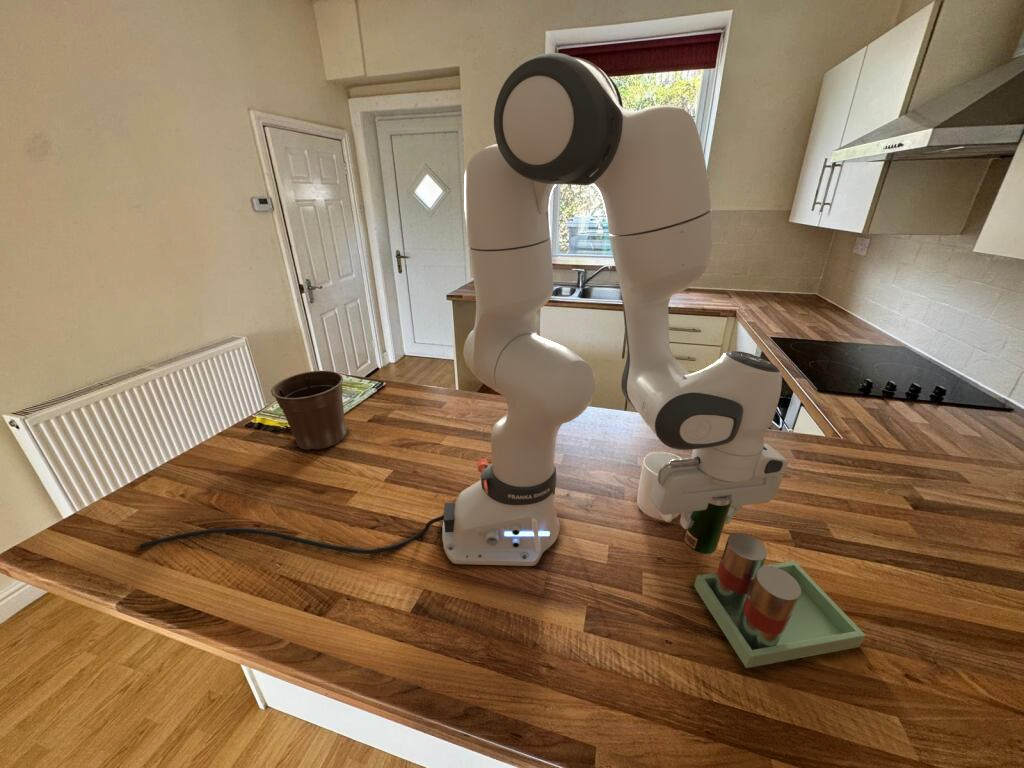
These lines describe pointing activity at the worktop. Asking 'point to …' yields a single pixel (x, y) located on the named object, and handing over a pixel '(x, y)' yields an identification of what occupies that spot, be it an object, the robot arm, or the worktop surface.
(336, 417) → the plant pot
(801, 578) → the can tray
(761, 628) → the silver can right
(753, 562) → the silver can left
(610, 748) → the worktop surface
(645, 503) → the mug
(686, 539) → the beer can
